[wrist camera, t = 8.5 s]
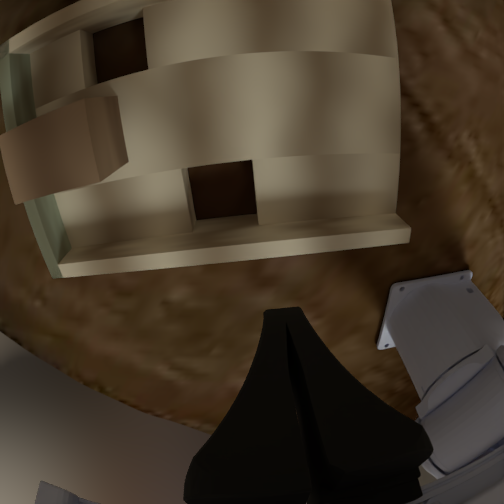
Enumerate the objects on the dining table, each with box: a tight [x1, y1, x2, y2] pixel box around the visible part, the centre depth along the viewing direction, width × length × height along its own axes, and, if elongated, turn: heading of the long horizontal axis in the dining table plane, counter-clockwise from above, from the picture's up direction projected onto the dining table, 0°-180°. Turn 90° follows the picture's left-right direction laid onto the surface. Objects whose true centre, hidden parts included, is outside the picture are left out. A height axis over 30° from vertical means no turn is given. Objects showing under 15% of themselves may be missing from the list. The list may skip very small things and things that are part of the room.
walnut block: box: [0, 96, 129, 205], centre depth 13 cm, size 6×4×4 cm, turn 95°
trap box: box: [0, 0, 411, 278], centre depth 14 cm, size 23×16×4 cm
